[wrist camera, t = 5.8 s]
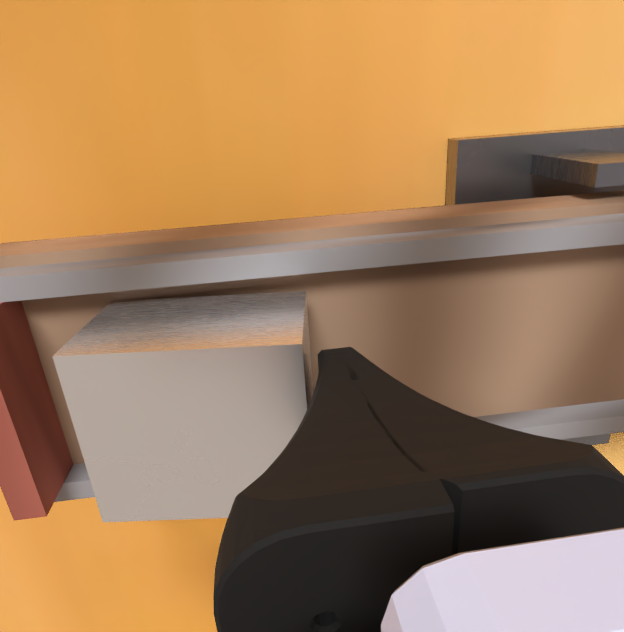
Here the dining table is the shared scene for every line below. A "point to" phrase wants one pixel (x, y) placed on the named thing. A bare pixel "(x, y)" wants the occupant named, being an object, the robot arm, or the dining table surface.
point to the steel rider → (186, 399)
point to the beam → (345, 313)
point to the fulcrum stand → (536, 172)
